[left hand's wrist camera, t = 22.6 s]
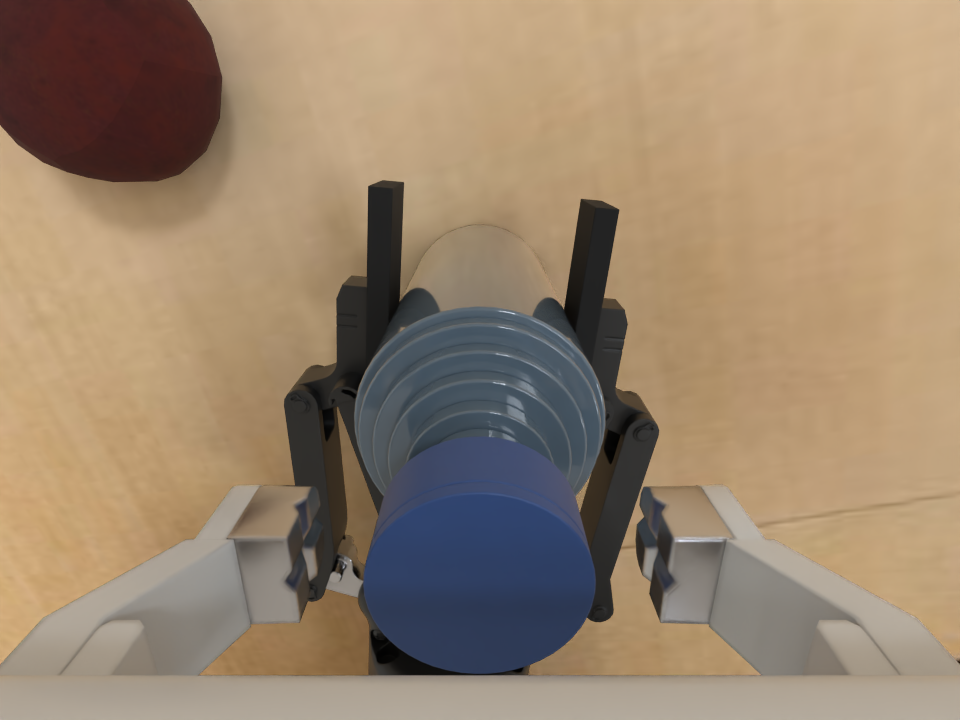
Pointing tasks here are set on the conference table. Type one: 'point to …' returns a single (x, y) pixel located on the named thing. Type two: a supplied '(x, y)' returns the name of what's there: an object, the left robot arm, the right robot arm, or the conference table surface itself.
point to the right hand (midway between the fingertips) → (493, 195)
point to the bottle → (479, 362)
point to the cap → (479, 558)
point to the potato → (109, 85)
